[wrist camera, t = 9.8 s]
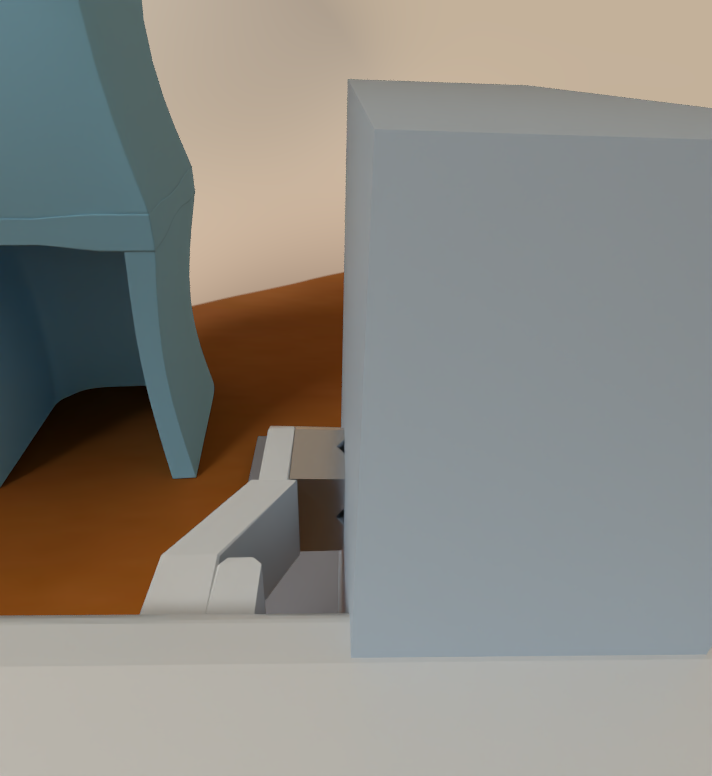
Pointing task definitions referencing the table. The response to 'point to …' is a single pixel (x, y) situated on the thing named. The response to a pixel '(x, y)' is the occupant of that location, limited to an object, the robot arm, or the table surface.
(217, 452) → the table surface
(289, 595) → the felt pad
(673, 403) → the cover plate
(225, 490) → the table surface
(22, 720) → the robot arm
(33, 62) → the vase
